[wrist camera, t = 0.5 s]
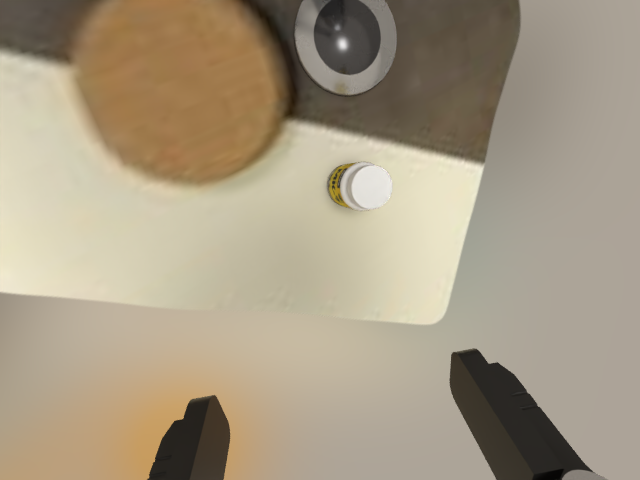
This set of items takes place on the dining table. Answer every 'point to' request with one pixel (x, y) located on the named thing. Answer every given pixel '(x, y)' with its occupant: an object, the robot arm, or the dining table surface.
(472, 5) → the dining table surface
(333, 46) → the flange fitting
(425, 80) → the dining table surface
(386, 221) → the dining table surface
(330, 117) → the dining table surface
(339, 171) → the supplement bottle
